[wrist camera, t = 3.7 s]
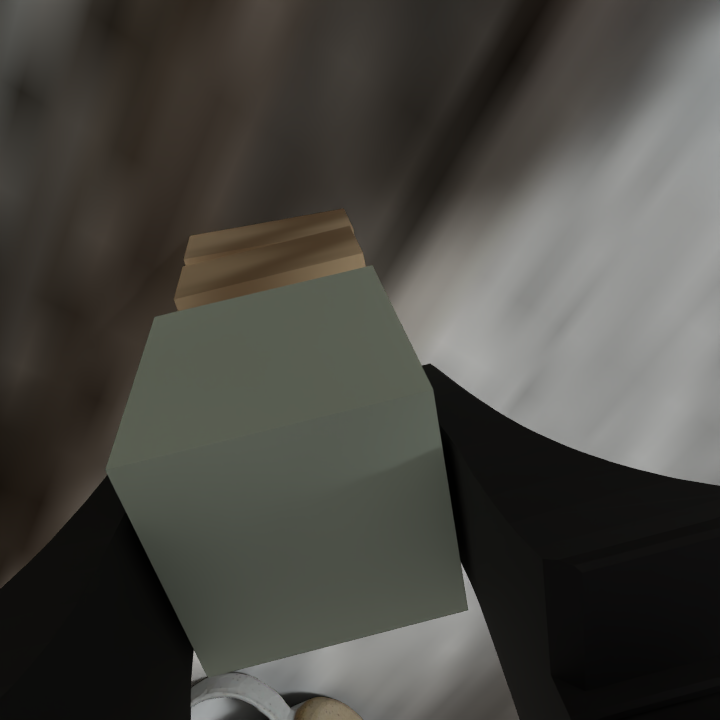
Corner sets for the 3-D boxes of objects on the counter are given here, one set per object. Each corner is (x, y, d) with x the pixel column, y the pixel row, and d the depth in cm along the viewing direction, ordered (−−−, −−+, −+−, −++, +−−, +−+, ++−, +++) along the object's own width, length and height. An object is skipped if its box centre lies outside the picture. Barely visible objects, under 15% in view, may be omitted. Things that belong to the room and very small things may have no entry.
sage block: (372, 265, 13) (433, 389, 9) (406, 440, 15) (468, 610, 11) (154, 316, 13) (105, 470, 9) (220, 486, 15) (207, 677, 11)
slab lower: (342, 206, 21) (353, 228, 19) (363, 340, 23) (374, 373, 21) (190, 233, 21) (183, 259, 19) (227, 366, 23) (224, 402, 21)
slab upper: (349, 225, 19) (363, 252, 17) (380, 369, 21) (395, 409, 19) (182, 266, 19) (173, 299, 16) (233, 407, 21) (231, 451, 19)
